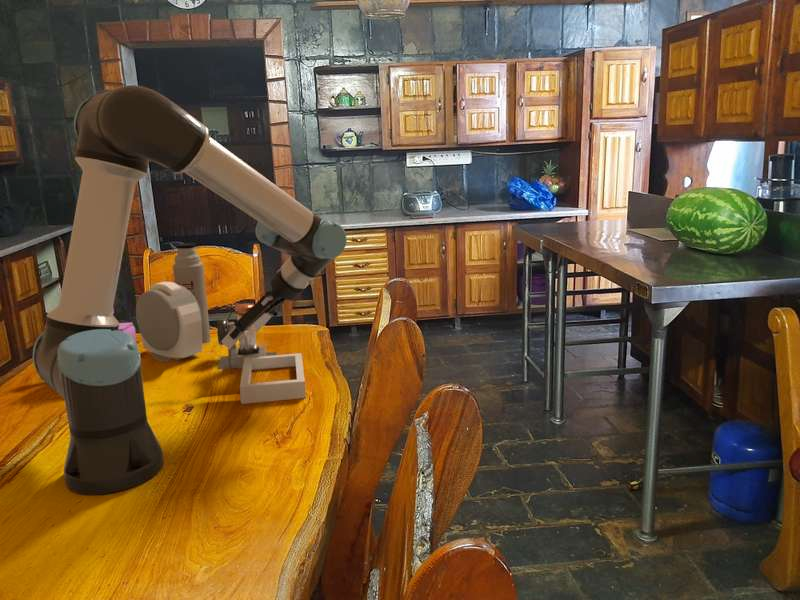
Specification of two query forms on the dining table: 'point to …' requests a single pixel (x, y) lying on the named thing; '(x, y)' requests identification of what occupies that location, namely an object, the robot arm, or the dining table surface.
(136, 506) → the dining table surface
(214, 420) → the dining table surface
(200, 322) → the beige rounded housing
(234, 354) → the block
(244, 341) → the pin
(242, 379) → the tray
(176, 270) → the thermos bottle
